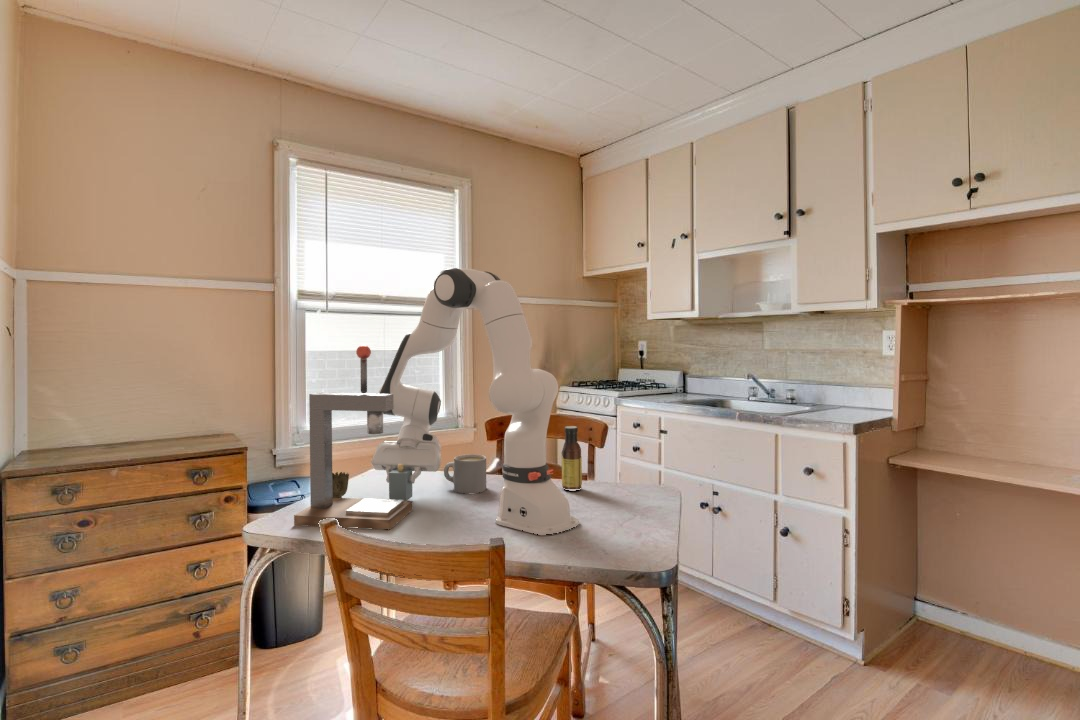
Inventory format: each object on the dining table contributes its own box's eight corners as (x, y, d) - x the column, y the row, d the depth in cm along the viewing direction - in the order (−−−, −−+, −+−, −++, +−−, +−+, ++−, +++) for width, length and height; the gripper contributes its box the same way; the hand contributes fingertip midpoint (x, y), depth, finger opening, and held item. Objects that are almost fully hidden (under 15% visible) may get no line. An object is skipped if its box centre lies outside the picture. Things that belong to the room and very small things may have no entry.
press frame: (403, 503, 150) (402, 345, 149) (387, 516, 139) (386, 345, 138) (325, 500, 153) (323, 344, 152) (303, 512, 142) (301, 345, 141)
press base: (412, 510, 153) (412, 501, 153) (389, 530, 137) (389, 520, 137) (326, 506, 156) (326, 497, 156) (294, 525, 140) (294, 515, 140)
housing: (412, 496, 162) (412, 463, 162) (406, 501, 158) (405, 467, 157) (396, 495, 163) (395, 462, 163) (389, 500, 158) (388, 466, 158)
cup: (340, 506, 155) (339, 478, 155) (316, 505, 157) (316, 477, 157) (354, 499, 163) (353, 472, 162) (331, 497, 164) (331, 470, 164)
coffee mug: (491, 487, 177) (491, 455, 176) (476, 495, 167) (476, 462, 167) (455, 482, 182) (455, 452, 181) (438, 490, 172) (438, 458, 172)
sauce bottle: (571, 486, 178) (571, 424, 178) (585, 489, 174) (586, 426, 173) (557, 489, 174) (557, 426, 173) (571, 493, 169) (572, 429, 169)
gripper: (376, 435, 168) (361, 475, 159) (441, 436, 165) (431, 477, 156) (382, 447, 172) (368, 486, 163) (446, 448, 170) (436, 488, 161)
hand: (400, 482), depth 160 cm, fingers closed on housing, 5 cm apart
